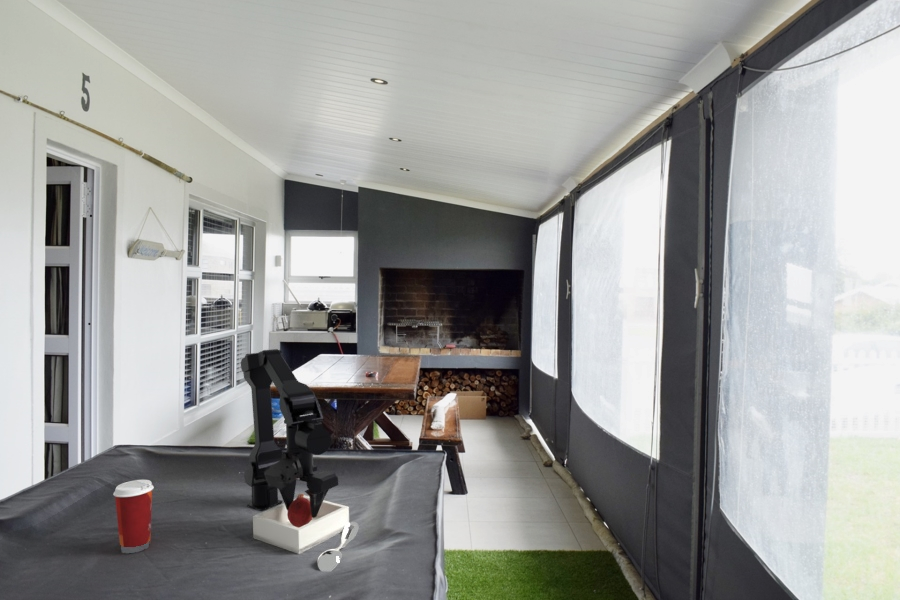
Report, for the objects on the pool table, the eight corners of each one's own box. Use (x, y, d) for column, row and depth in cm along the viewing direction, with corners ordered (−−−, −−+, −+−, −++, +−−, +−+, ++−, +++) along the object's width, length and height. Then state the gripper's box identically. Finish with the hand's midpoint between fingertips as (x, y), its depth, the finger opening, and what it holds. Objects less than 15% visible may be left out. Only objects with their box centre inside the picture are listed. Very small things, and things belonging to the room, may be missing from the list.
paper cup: (163, 542, 124) (161, 480, 124) (133, 558, 117) (131, 492, 117) (136, 538, 127) (134, 477, 127) (106, 553, 120) (104, 488, 120)
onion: (307, 535, 124) (305, 499, 124) (283, 533, 125) (282, 498, 125) (318, 524, 130) (317, 490, 130) (295, 523, 131) (294, 489, 131)
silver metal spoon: (343, 513, 130) (363, 513, 129) (343, 528, 130) (363, 528, 129) (313, 559, 110) (336, 560, 109) (314, 576, 110) (337, 577, 110)
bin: (253, 538, 126) (252, 516, 126) (304, 515, 138) (304, 495, 138) (299, 554, 117) (298, 530, 117) (349, 528, 130) (348, 506, 130)
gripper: (243, 448, 126) (245, 517, 126) (300, 460, 116) (302, 535, 116) (283, 437, 135) (284, 501, 135) (339, 447, 125) (340, 517, 125)
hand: (301, 513), depth 128 cm, fingers open, 8 cm apart
